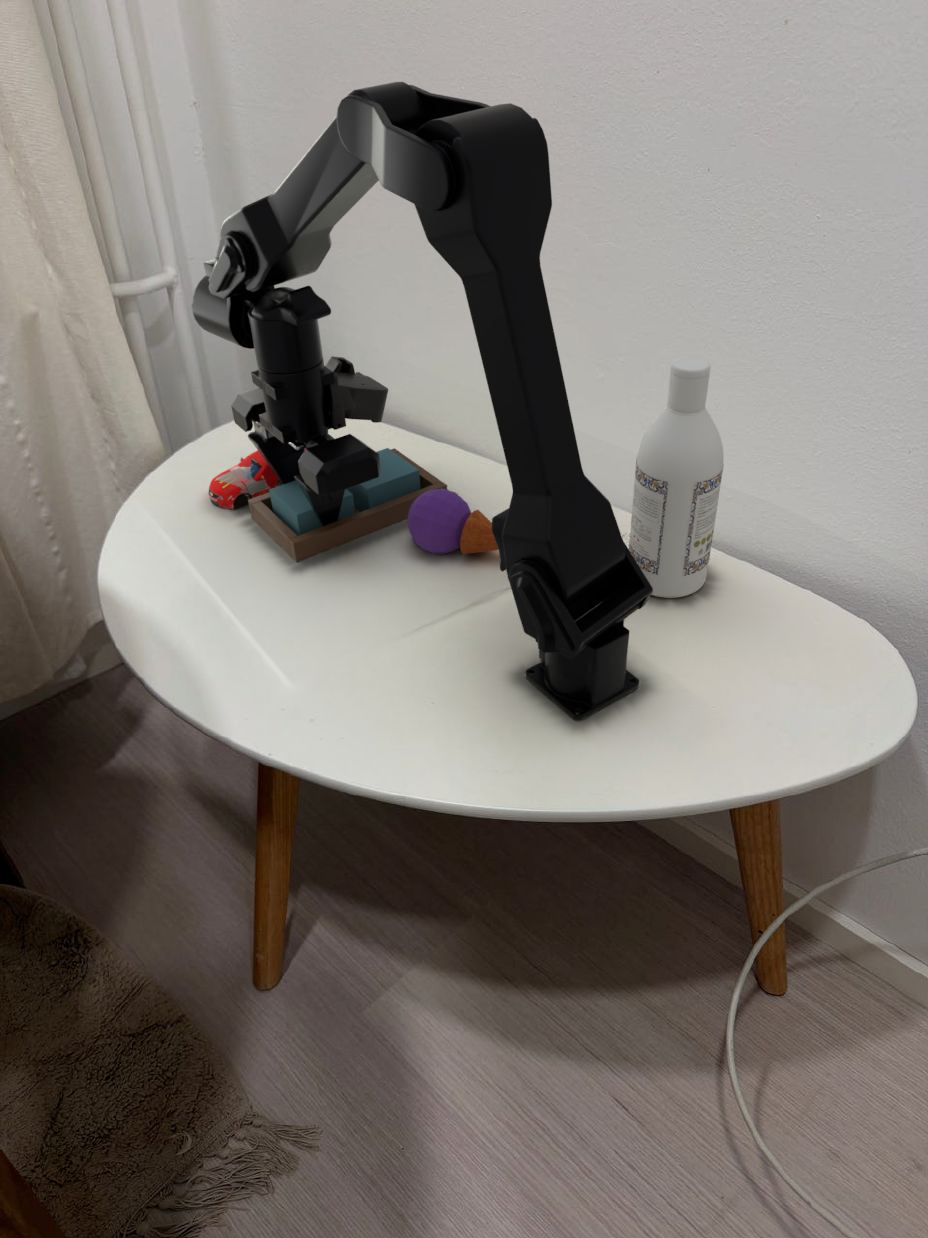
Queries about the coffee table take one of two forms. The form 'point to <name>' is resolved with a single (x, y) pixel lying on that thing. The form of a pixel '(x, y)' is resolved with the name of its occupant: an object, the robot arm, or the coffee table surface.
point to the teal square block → (386, 482)
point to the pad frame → (343, 528)
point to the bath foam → (677, 486)
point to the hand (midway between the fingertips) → (315, 514)
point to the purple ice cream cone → (448, 524)
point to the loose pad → (302, 508)
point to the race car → (243, 482)
